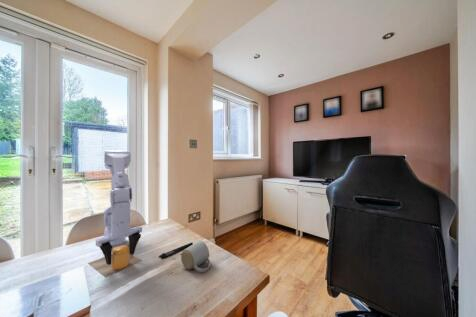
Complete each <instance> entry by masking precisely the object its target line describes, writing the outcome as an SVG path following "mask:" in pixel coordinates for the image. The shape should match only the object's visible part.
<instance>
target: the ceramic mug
mask: <svg viewBox="0 0 476 317" xmlns="http://www.w3.org/2000/svg"><path fill="white" fill-rule="evenodd" d="M180 254H181V255H180V261H181V264H182V265H183V267H184V268H185V269H187V270H192V269H194V270H195V271H197V272H198V273H205V272H207V271H208V270H209V269H210V266H211V260H210V258H209V257H210V250H209V248H208V245H207V244H206V243H205V242H204V241H202V240H198V241H196V242H194V243H193V245H191V246H189V247H188V248H186V249H185V250H183V251H181V253H180ZM205 262H207V266H208V267H206V268H200V267H199V266H200V265H202V264H204V263H205Z"/></svg>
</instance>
